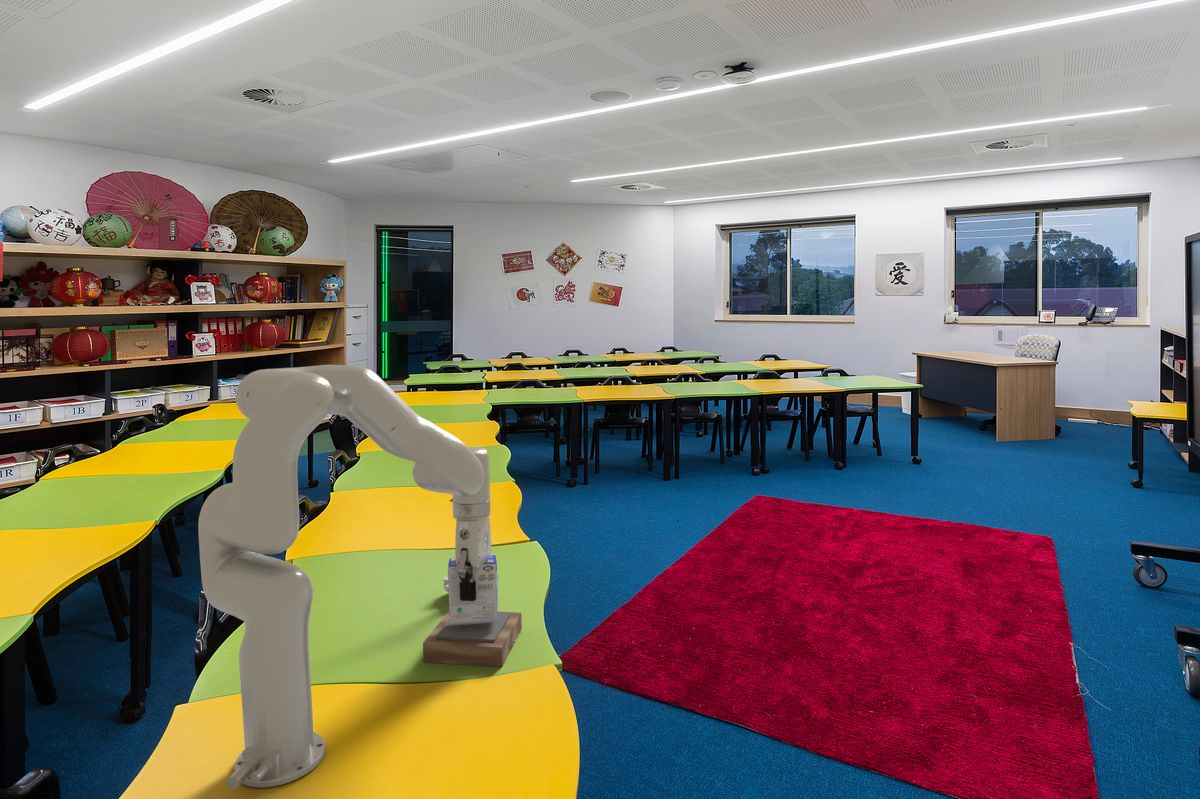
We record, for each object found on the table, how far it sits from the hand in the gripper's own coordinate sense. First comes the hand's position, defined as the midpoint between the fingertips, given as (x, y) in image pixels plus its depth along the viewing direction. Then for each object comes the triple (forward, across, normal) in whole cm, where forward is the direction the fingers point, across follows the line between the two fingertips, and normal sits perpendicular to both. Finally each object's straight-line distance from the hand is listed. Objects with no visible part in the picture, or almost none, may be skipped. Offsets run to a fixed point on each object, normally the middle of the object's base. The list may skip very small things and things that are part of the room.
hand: (473, 592), depth 140 cm
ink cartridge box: (+5, 0, 0) cm, 5 cm away
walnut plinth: (+11, 0, 0) cm, 11 cm away
